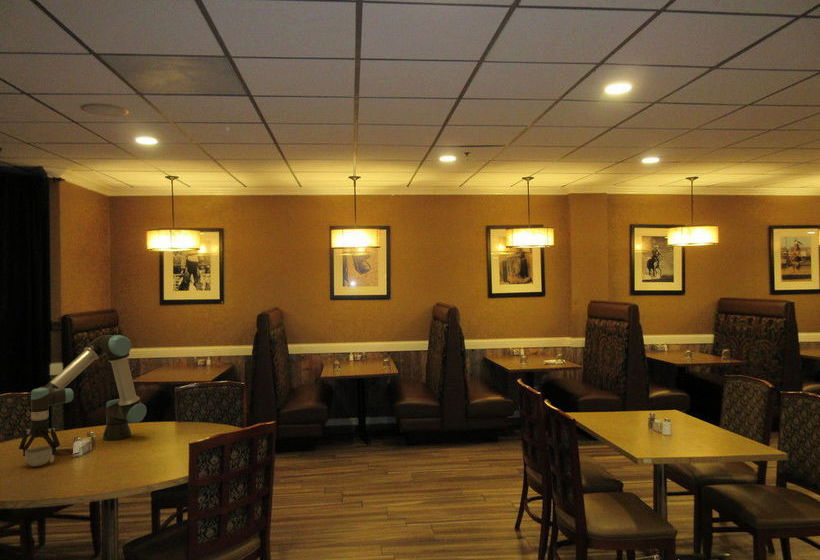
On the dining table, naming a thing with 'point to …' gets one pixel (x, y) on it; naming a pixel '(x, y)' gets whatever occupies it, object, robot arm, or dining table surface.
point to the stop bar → (64, 451)
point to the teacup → (38, 456)
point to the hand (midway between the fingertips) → (39, 461)
